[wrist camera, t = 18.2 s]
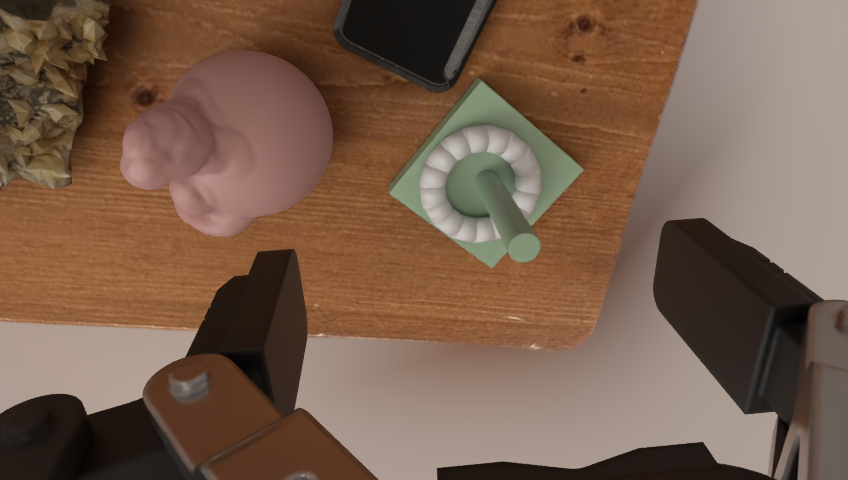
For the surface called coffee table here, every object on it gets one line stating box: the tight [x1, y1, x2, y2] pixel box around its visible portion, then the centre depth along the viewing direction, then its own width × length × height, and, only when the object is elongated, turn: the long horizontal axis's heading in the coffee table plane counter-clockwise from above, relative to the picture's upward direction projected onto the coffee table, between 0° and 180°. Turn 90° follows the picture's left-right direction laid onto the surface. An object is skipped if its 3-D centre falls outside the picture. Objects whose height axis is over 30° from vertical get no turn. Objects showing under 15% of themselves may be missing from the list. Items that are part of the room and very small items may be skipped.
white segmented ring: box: [419, 125, 541, 243], centre depth 36 cm, size 8×8×2 cm
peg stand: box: [388, 77, 584, 268], centre depth 32 cm, size 9×9×12 cm
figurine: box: [120, 50, 333, 237], centre depth 30 cm, size 9×11×12 cm
